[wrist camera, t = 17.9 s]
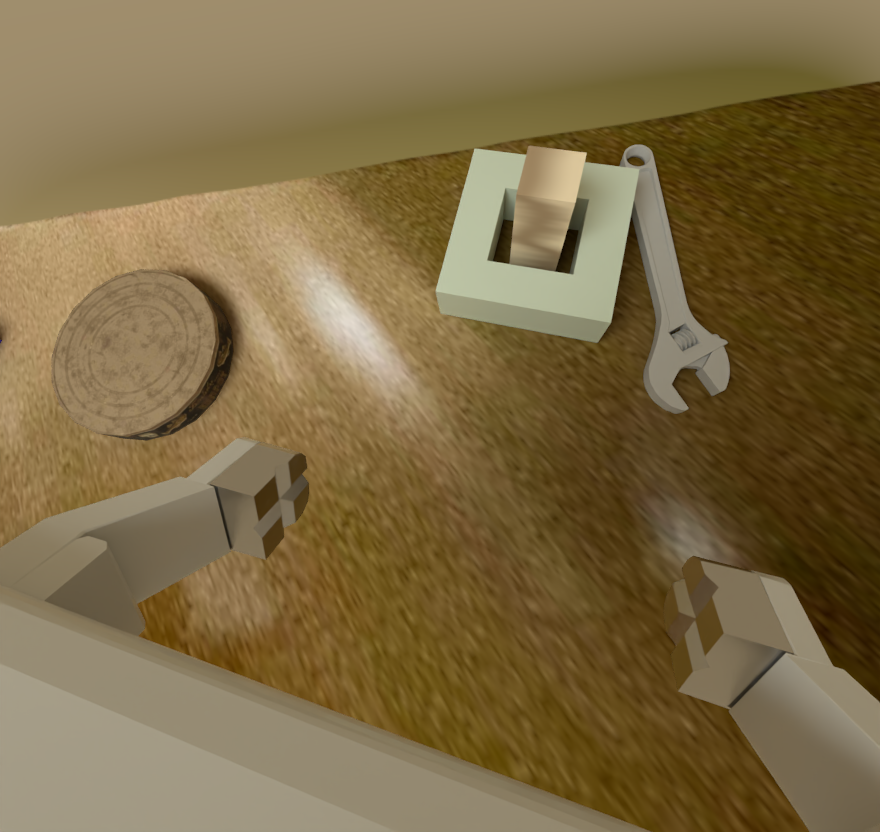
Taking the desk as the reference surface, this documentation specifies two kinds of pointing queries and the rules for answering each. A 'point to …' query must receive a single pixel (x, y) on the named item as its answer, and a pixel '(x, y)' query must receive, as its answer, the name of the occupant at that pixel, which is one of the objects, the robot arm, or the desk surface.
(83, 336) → the wood slice
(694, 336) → the adjustable wrench
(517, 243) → the wooden block
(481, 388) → the desk surface
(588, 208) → the pale green square frame
